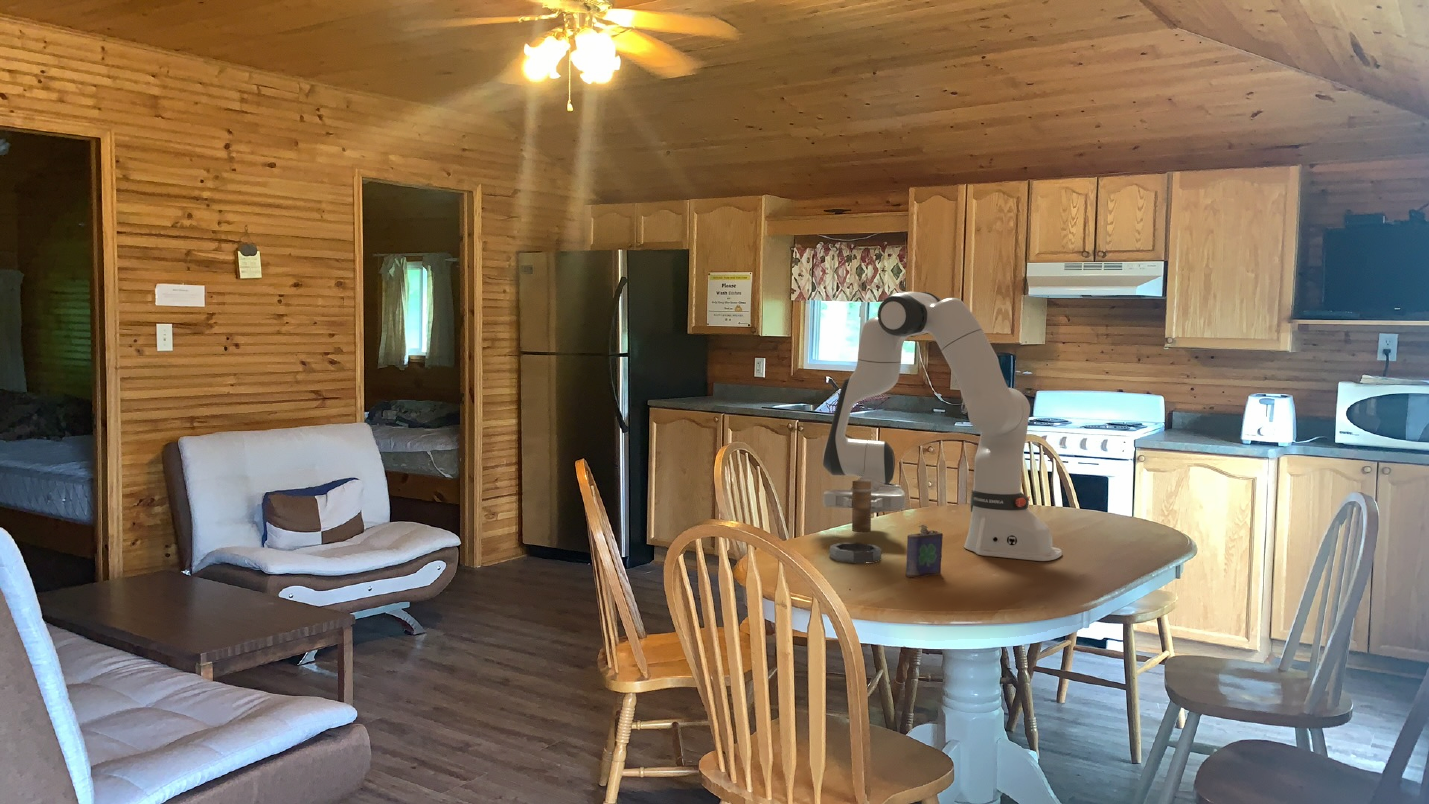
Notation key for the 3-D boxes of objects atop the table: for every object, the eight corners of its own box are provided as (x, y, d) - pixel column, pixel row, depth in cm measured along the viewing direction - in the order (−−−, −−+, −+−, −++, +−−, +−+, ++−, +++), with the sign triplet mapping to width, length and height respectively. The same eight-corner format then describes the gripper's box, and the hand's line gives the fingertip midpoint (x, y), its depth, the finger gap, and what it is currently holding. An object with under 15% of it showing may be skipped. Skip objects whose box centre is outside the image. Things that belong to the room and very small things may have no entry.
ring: (886, 557, 245) (887, 546, 245) (866, 565, 236) (866, 554, 236) (844, 551, 251) (844, 540, 251) (823, 558, 242) (823, 548, 242)
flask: (911, 578, 225) (912, 528, 224) (901, 575, 227) (903, 525, 227) (943, 574, 229) (945, 525, 229) (934, 571, 232) (936, 522, 231)
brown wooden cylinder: (874, 530, 259) (874, 481, 258) (865, 533, 255) (866, 483, 254) (857, 528, 261) (857, 479, 261) (848, 531, 258) (848, 481, 257)
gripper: (826, 482, 273) (818, 489, 259) (907, 485, 268) (903, 492, 254) (825, 507, 273) (818, 515, 260) (906, 510, 268) (903, 519, 255)
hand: (861, 504), depth 257 cm, fingers closed on brown wooden cylinder, 4 cm apart
